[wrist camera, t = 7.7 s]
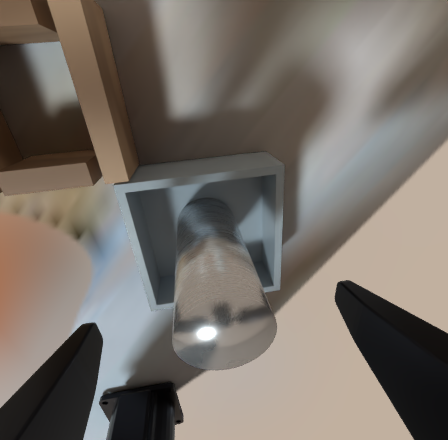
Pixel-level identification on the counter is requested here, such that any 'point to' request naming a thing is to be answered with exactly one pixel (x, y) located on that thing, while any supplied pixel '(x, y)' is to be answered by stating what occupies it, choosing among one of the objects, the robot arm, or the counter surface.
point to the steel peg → (217, 291)
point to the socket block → (86, 91)
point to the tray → (194, 189)
